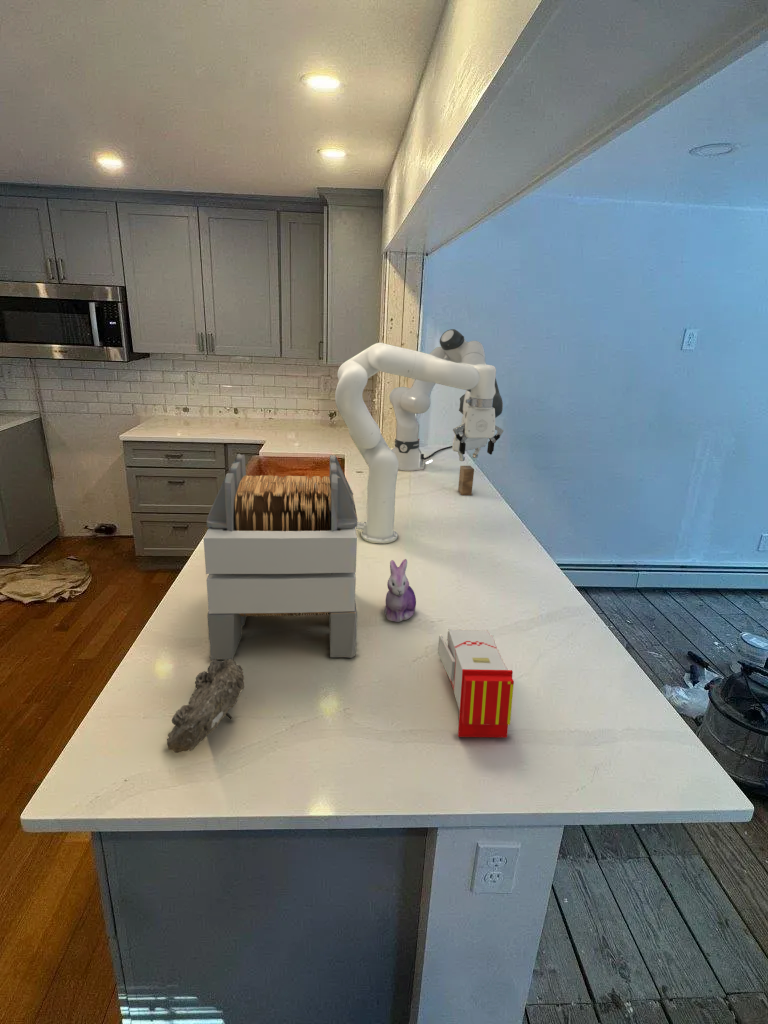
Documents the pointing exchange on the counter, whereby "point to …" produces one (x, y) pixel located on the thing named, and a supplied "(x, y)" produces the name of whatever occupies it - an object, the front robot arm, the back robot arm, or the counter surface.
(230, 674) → the fossil
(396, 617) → the figurine
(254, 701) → the counter surface
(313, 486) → the grey record storage stand
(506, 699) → the toy
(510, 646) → the counter surface
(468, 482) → the block
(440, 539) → the counter surface
